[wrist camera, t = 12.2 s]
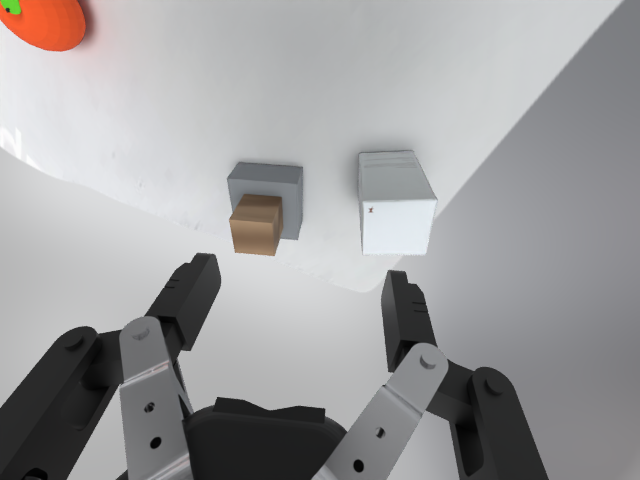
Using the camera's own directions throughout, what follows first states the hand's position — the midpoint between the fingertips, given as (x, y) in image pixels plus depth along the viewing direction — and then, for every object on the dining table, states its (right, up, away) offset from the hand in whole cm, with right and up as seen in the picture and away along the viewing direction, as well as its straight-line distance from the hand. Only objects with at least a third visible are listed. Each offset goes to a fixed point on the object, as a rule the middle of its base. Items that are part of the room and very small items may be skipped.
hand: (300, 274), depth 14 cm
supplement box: (+10, +11, +27) cm, 30 cm away
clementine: (-26, +27, +18) cm, 42 cm away
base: (-6, +9, +30) cm, 32 cm away
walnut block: (-7, +6, +26) cm, 27 cm away
